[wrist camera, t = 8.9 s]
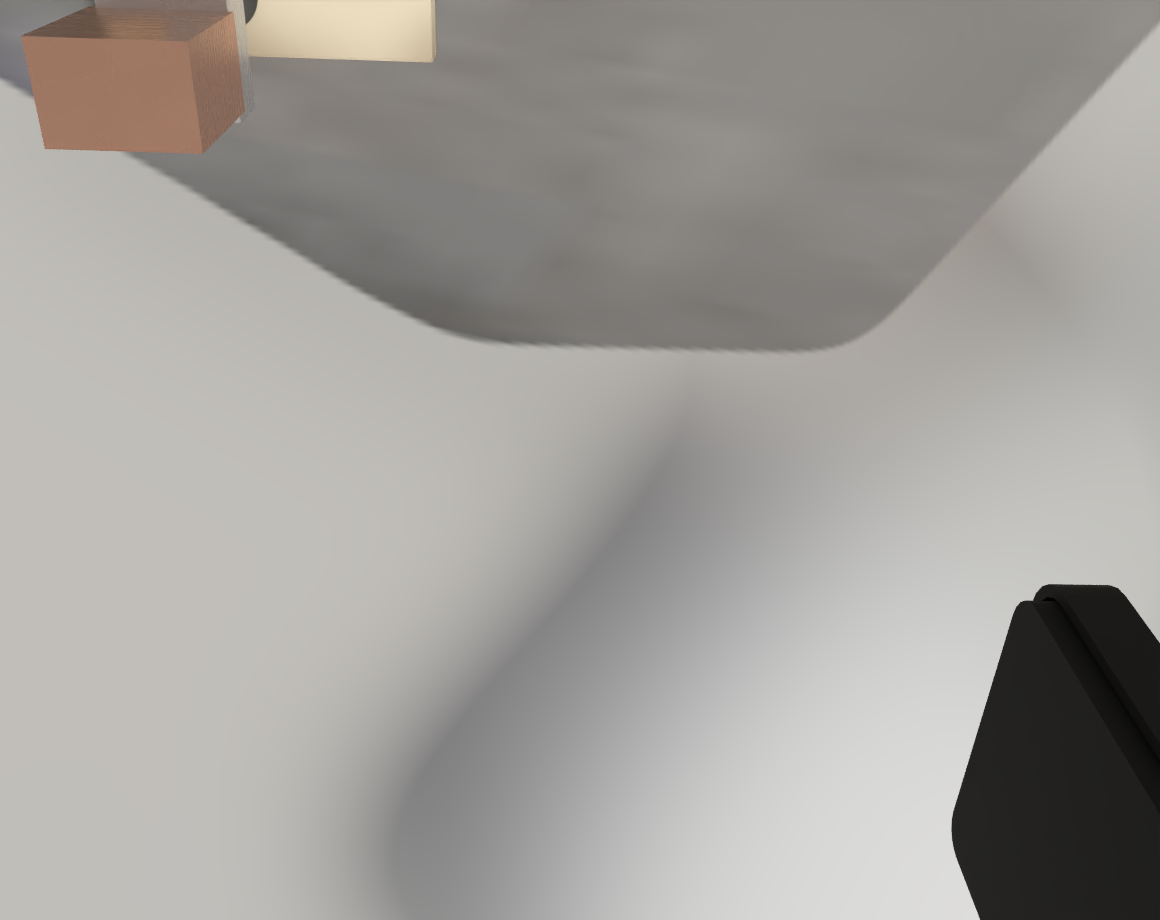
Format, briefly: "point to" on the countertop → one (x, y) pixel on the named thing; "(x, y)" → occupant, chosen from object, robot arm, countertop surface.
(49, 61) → the slider block
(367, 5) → the hole plate
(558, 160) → the countertop surface
